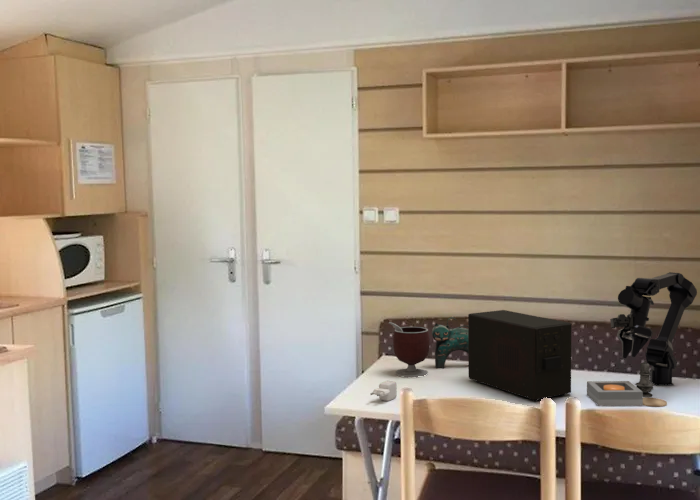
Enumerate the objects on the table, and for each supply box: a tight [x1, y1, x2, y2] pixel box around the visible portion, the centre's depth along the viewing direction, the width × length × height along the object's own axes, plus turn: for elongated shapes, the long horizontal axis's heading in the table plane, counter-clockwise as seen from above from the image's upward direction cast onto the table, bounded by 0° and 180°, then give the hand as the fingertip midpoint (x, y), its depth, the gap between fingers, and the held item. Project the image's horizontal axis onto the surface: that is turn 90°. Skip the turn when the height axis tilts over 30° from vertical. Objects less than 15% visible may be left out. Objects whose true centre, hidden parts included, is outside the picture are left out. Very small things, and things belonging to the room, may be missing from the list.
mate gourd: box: [388, 321, 431, 378], centre depth 293 cm, size 16×14×20 cm
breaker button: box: [603, 384, 625, 390], centre depth 253 cm, size 7×7×2 cm
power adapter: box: [370, 380, 398, 402], centre depth 256 cm, size 11×5×6 cm, turn 144°
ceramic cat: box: [431, 317, 468, 369], centre depth 303 cm, size 20×6×20 cm, turn 95°
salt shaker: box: [634, 359, 655, 398], centre depth 258 cm, size 6×6×12 cm
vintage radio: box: [467, 309, 572, 402], centre depth 269 cm, size 38×20×25 cm, turn 29°
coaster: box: [643, 397, 668, 408], centre depth 249 cm, size 9×9×1 cm
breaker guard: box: [586, 380, 644, 407], centre depth 253 cm, size 14×14×4 cm
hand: (628, 357), depth 259 cm, fingers open, 9 cm apart
